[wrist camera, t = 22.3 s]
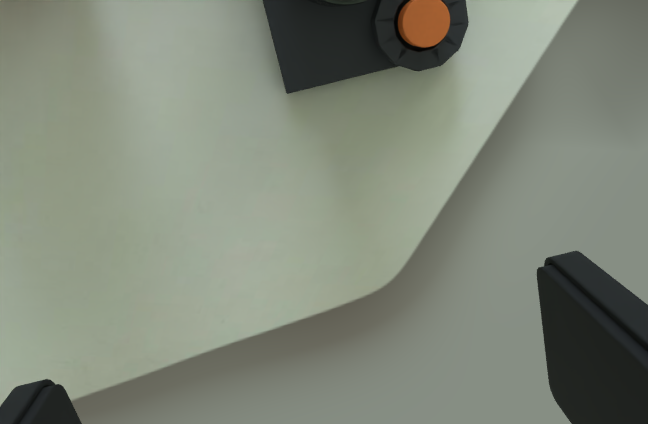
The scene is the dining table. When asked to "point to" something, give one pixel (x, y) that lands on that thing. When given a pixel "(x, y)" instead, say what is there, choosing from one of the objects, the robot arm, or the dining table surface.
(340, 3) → the supplement bottle
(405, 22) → the button
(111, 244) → the dining table surface
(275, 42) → the scale
